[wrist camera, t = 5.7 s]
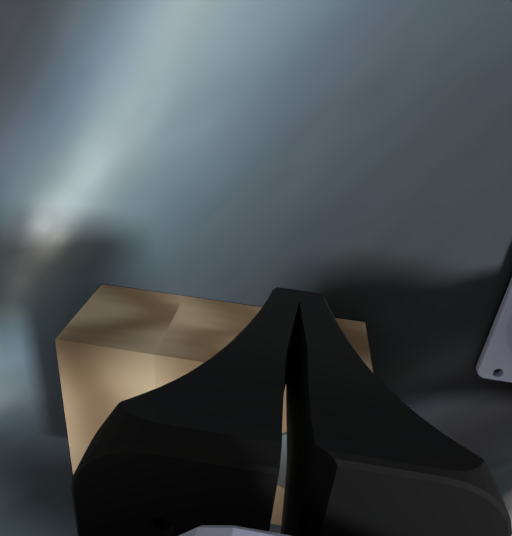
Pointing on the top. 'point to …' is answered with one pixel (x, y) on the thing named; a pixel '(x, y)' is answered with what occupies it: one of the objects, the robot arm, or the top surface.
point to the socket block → (151, 355)
